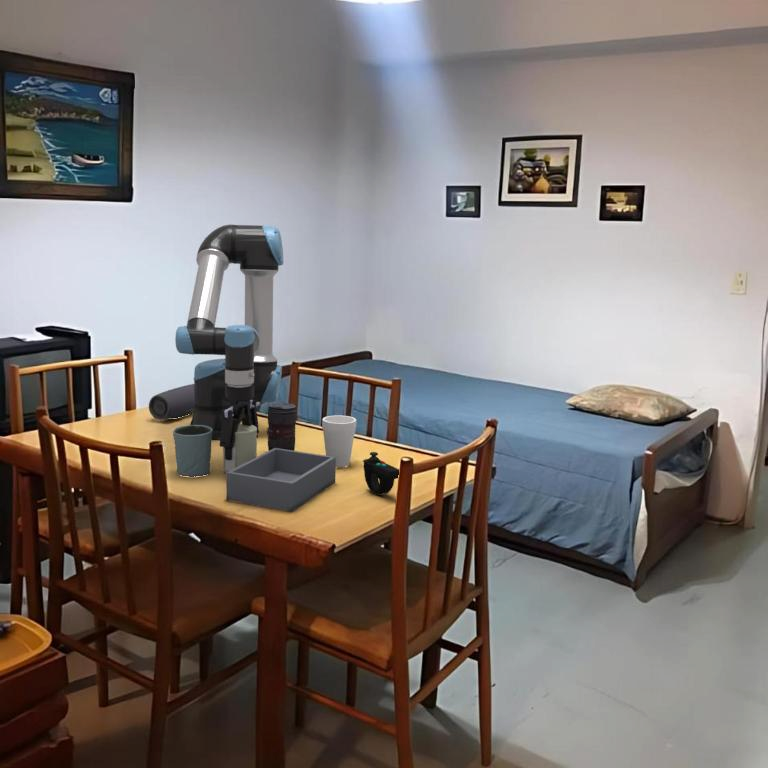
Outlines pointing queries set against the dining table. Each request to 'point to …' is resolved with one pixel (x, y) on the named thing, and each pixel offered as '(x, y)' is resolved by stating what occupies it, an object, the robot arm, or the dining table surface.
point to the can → (244, 445)
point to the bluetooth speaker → (173, 403)
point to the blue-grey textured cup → (193, 449)
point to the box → (280, 479)
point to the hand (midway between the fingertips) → (239, 465)
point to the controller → (379, 474)
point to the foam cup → (339, 437)
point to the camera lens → (281, 426)
